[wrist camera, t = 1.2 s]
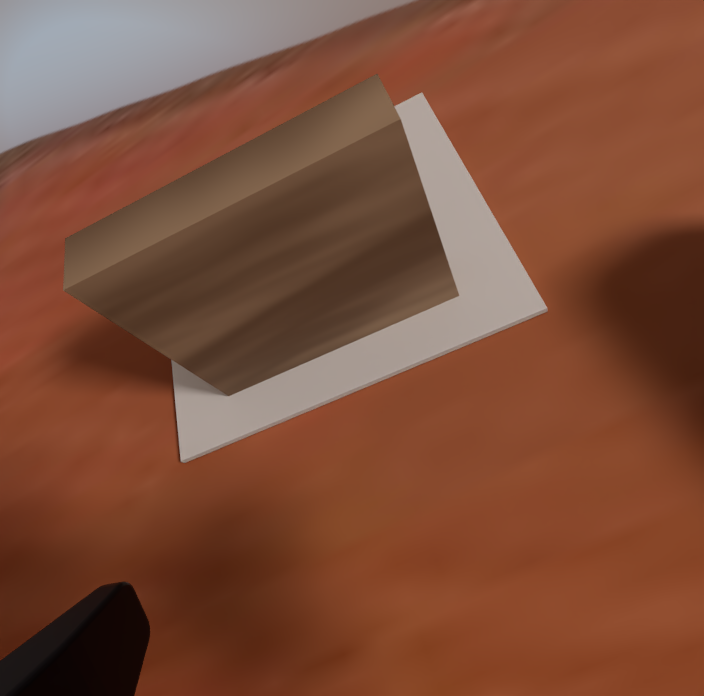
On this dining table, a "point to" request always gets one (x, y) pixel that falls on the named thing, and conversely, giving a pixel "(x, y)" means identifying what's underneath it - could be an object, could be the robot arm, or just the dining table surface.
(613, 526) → the dining table surface
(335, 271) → the board
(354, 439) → the dining table surface
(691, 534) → the dining table surface
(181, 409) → the mat
